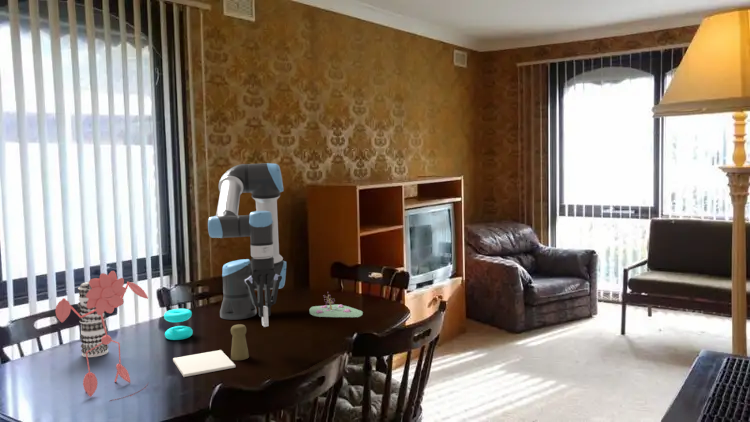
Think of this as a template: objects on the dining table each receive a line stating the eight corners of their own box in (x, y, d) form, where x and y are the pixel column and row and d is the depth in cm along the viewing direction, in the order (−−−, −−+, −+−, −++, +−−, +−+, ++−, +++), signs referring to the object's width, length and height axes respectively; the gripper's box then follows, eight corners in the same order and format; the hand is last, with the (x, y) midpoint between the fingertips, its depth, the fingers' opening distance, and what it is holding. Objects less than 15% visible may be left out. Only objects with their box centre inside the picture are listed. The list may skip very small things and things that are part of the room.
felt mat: (173, 360, 203) (172, 358, 203) (221, 352, 211) (221, 349, 211) (183, 377, 187) (183, 374, 187) (235, 367, 195) (235, 364, 195)
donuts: (158, 311, 229) (182, 306, 236) (160, 337, 230) (184, 331, 237) (172, 315, 222) (196, 310, 229) (173, 342, 223) (198, 336, 230)
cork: (232, 355, 207) (230, 323, 206) (250, 354, 208) (248, 322, 207) (229, 360, 201) (227, 328, 200) (247, 359, 202) (246, 327, 201)
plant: (374, 309, 266) (373, 289, 266) (353, 321, 248) (352, 299, 247) (323, 305, 276) (322, 285, 276) (300, 316, 258) (299, 295, 257)
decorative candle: (115, 350, 216) (111, 280, 214) (95, 358, 207) (90, 285, 205) (95, 348, 219) (90, 279, 217) (74, 356, 210) (69, 284, 208)
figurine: (54, 400, 171) (47, 277, 168) (138, 373, 192) (133, 262, 188) (83, 414, 162) (76, 284, 159) (167, 384, 183) (163, 268, 179)
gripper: (246, 260, 200) (249, 331, 202) (284, 256, 206) (287, 325, 208) (240, 257, 206) (243, 326, 208) (277, 253, 212) (279, 320, 214)
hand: (265, 325), depth 208 cm, fingers closed
